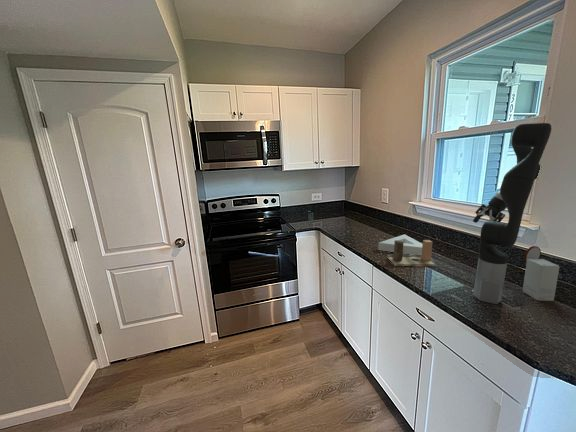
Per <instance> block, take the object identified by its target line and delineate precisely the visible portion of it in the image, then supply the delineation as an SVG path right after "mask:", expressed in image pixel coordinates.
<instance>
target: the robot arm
mask: <svg viewBox="0 0 576 432" xmlns="http://www.w3.org/2000/svg"><path fill="white" fill-rule="evenodd" d="M551 133H552V125H551V123H548V122H535V123H532V122H531V123H521V124H517V125H516V126H515V127H514V129H513V131H512V134H511V137H510V138H511V139H510V142H511V146H512V149H513V151H514V154H515V157H516V164H515V165H514V166H513V167H512V168H511V169H509V170H508V171H507V172H506V173H505V174H504V176H503V179H502V182H501V186H500V189H499V190H498V191H497V192H496V193H495V195H494V196H493V197H492V198H491V199H490V200H489V201H488V203H487V204H488V205H486V204H481V205H480V206H479V207H478V209H476V211H475V212H474V213H475V214H476V216H475V217H474V218H473V220H472V222H473V223H475V224H477V223H478V222H479V221H480V219H482V217H486V216H487V217H488V218H489V220H487V221H485V222H484V223H483V224H482V227H481V230H480V238H479V240H480V241H479V248H478V259H477V260H478V261H477V268H476V272H475V273H476V274H475V281H474V286H473V287H474V288H473V296H474V298H476V299H477V300H478V301H480V302H485V303H488V304H489V303H490V304H493V305H499V303H501V300H502V295H503V290H504V283H505V277H506V272H507V267H508V261H509V256H508V254H506V253H505V252H503V251H501V250H499V249H498V248H496V246H499V247H500V246H501V247H504V248H511V247H513V246H514V245H516V242H517V240H518V236H519V232H520V228H521V223H522V219H523V215H524V211H525V209H526V205H527V202H528V199H529V196H530V194H531V191H532V188H533V186H534V182H535V179H536V178H537V176H538V173H539V170H540V166H541V164H540V162H541V159H542V158H543V157H542V156H543V154H544V151H545V149H546V147H547V144H548V141H549V139H550V136H551ZM537 179H538V178H537ZM537 179H536V180H537ZM506 209H507V211H508V212H507V213H508V222H502V220H503V219H504V218H505V217H506V214H505V213H503V212H504V211H505V210H506ZM494 245H495V246H494Z"/></svg>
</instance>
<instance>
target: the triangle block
mask: <svg viewBox="0 0 576 432" xmlns="http://www.w3.org/2000/svg"><path fill="white" fill-rule="evenodd" d="M395 240H401V241H402V242H404V243H403V255H406V254H409V255H422V245H423V242H420V241H418V240H416V239H415V238H412V237H410V236H408V235H407V234H402V235H398V236H396V237H391V238H389V239H386V240H383V241H380V242H378V243H377V244H378V245H377V246H378V248H377V251H378V250H383V251H390V252H394V244H395ZM390 252H389V253H390Z"/></svg>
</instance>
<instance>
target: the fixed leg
mask: <svg viewBox="0 0 576 432" xmlns="http://www.w3.org/2000/svg"><path fill="white" fill-rule="evenodd" d="M403 243H404V242H402V241H401V240H395V244H394V253H393V254H392V255H393V257H394V259H395V260H396V261H402V257H403V255H404V254H403Z"/></svg>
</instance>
